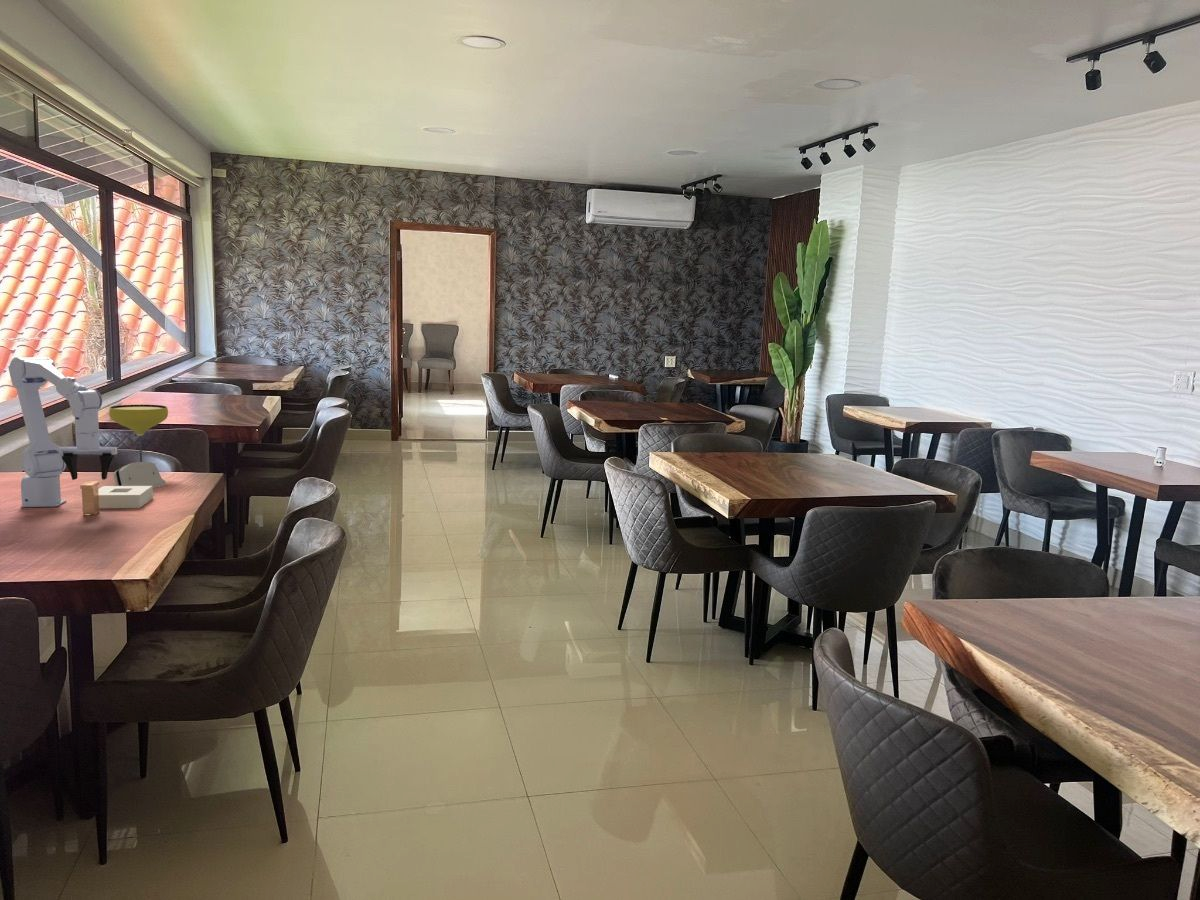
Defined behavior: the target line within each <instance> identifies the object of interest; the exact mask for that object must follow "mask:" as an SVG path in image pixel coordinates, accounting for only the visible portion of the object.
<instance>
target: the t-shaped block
mask: <svg viewBox="0 0 1200 900" xmlns="http://www.w3.org/2000/svg"><path fill="white" fill-rule="evenodd" d="M99 486H100V481H97V480H94V481H93V480H92V481H89V480H88V481H85V482H84V483H82V484H80V486H79V487H80V489H81V497H82V498H81V501H82V515H83V514H96V513H97V514H99V513H100V508H99V494H98V489H99ZM98 512H99V513H98ZM97 514H96V515H97Z"/></svg>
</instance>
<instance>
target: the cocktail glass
mask: <svg viewBox="0 0 1200 900" xmlns="http://www.w3.org/2000/svg"><path fill="white" fill-rule="evenodd" d="M168 415H169V410H168V407H167V406H165V405H162V404H161V405H159V404H124V405H123V404H122V405H113V406H110V407H109V418H110V419H111V421H113V422H115V423H116V424H118V425H120V426H122V427H126V428H128V429H129V430H132V431H133V432H134V433H135V435H136V436H138V442H139V443H138V444H139V445H138V446H139V447H138V448H139V462H143V451H142V436H144V434H145V433H146V432H147V431H148V430H150V429H151V428H152V427H155V426H157V425H159V424H161V423H163V422H164V421H165V420H166V419H167V418H168Z"/></svg>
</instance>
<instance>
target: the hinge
mask: <svg viewBox="0 0 1200 900" xmlns="http://www.w3.org/2000/svg"><path fill="white" fill-rule="evenodd" d="M113 479H114V482H115V486H153V488H154V489H157V488H156V487H158V488H160V487H159V486H162V487H164V486H163V485H166V486H167V482H166V480H165V479H163V478H162V475H161V474H160V472H159V470H158V467H157V465H156V463H153V462H150V461H142V462H140V461H137V462H131V463H128V464H125V465H122V466H121V467H119V468H118V469H117V470H115V471H114V472H113Z"/></svg>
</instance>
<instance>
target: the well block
mask: <svg viewBox="0 0 1200 900" xmlns="http://www.w3.org/2000/svg"><path fill="white" fill-rule="evenodd" d="M153 490H154V489H153V486H116V485H104V486H100V487H98V494H99V509H140V507H141V508H142V507H143V506H145V505H146V504H147V503H149V502H150V501H152V500H153V499H152V498H154V491H153ZM148 501H149V502H148ZM144 504H145V505H144Z"/></svg>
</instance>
